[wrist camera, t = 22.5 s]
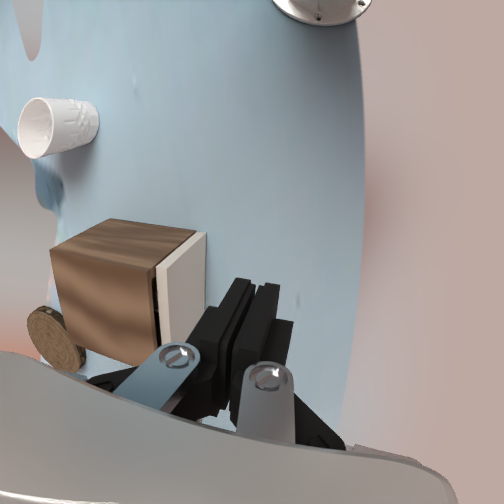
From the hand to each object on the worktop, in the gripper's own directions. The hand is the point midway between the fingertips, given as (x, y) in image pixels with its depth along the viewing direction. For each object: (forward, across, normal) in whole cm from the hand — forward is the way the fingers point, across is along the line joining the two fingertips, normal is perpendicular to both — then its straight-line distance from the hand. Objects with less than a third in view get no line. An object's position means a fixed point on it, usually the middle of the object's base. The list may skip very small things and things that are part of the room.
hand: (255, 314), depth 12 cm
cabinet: (+27, +20, +14) cm, 36 cm away
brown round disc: (+27, +46, +36) cm, 65 cm away
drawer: (+27, +18, +14) cm, 35 cm away
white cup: (+27, +32, -7) cm, 43 cm away
